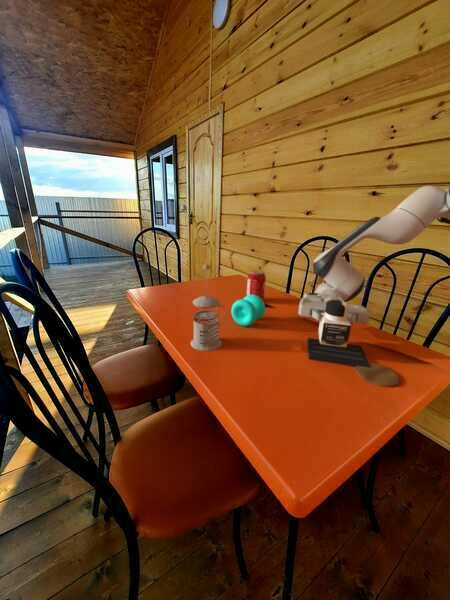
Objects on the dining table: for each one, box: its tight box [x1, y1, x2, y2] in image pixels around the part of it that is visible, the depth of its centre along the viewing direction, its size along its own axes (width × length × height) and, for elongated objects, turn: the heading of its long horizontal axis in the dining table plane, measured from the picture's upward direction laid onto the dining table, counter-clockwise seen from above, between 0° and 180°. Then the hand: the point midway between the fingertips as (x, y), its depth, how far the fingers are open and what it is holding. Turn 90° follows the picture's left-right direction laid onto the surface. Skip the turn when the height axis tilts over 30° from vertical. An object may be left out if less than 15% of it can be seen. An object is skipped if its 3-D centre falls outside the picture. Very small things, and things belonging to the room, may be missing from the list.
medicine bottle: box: [317, 300, 352, 347], centre depth 73 cm, size 7×7×12 cm
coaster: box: [354, 362, 400, 388], centre depth 67 cm, size 10×10×1 cm
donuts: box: [230, 295, 266, 327], centre depth 94 cm, size 10×10×10 cm
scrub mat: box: [307, 337, 371, 368], centre depth 76 cm, size 16×12×1 cm
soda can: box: [245, 269, 267, 303], centre depth 112 cm, size 8×8×15 cm
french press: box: [190, 263, 227, 352], centre depth 76 cm, size 10×12×25 cm
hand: (335, 320), depth 72 cm, fingers closed on medicine bottle, 7 cm apart
